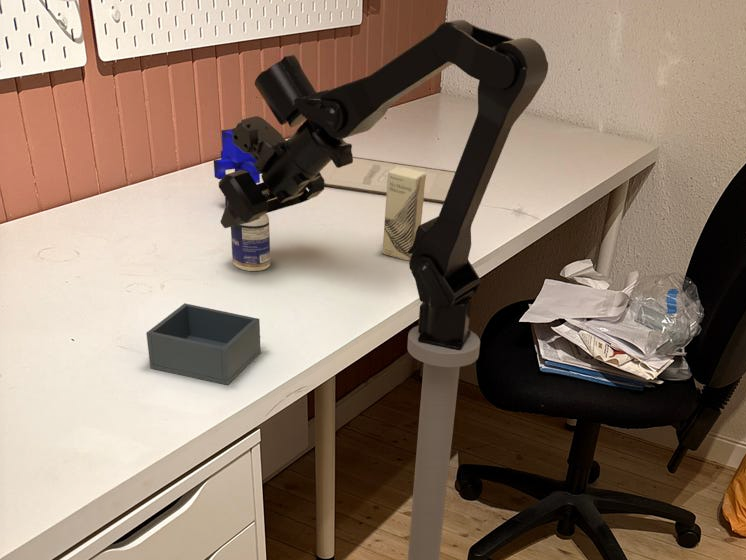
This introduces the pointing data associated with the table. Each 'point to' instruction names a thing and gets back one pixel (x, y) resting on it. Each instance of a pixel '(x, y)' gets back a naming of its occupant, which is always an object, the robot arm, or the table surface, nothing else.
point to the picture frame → (384, 177)
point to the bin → (204, 343)
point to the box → (403, 210)
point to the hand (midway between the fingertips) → (242, 217)
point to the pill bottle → (251, 244)
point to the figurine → (234, 159)
